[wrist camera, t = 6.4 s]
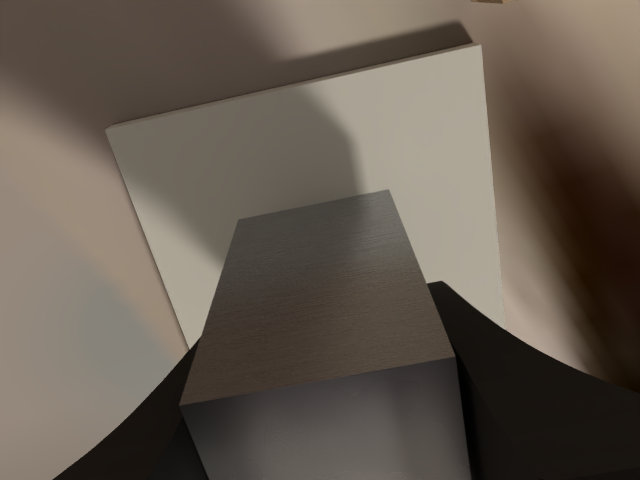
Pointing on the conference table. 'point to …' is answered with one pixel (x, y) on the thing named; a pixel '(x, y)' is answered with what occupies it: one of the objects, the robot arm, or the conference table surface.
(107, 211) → the conference table surface
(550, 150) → the conference table surface
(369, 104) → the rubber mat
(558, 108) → the conference table surface
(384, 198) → the key peg
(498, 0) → the holder block
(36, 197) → the conference table surface
